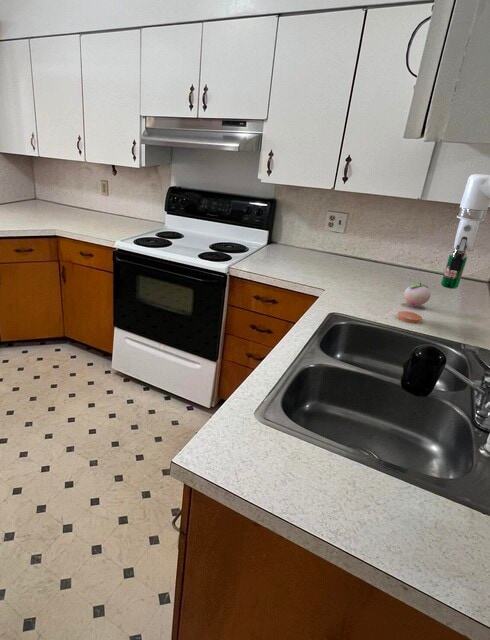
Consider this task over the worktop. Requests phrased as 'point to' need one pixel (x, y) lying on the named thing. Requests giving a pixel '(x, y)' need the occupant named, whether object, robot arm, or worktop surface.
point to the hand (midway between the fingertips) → (455, 267)
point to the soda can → (452, 274)
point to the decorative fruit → (417, 294)
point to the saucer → (409, 317)
